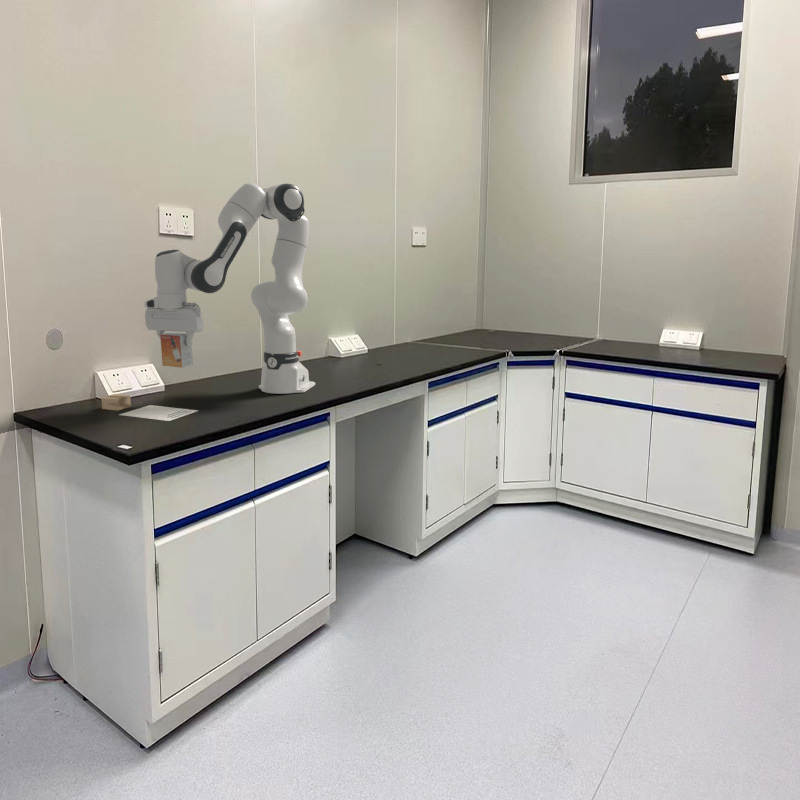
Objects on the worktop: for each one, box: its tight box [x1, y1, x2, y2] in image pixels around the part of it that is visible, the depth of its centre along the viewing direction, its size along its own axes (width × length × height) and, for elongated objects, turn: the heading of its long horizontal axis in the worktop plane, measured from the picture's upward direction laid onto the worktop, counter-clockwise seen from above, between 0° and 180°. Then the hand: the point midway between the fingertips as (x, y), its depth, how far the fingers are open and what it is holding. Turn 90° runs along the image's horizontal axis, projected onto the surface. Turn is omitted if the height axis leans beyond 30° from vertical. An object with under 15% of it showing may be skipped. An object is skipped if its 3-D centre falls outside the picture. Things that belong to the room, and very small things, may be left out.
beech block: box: [100, 393, 132, 411], centre depth 209 cm, size 6×6×4 cm
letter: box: [118, 404, 199, 422], centre depth 204 cm, size 14×19×1 cm
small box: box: [159, 331, 194, 369], centre depth 213 cm, size 8×6×10 cm
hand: (176, 344), depth 212 cm, fingers closed on small box, 8 cm apart
